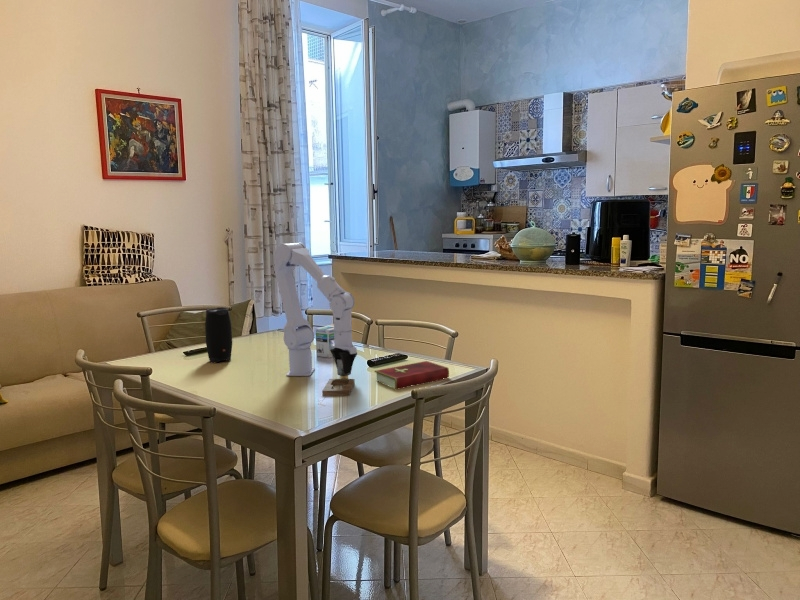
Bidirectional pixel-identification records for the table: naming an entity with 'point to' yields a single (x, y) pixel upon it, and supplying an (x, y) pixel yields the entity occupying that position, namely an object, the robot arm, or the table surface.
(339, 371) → the peg
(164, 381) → the table surface
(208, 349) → the portable speaker
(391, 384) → the hardcover book
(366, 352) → the table surface
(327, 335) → the light bulb box
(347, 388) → the keyhole plate
